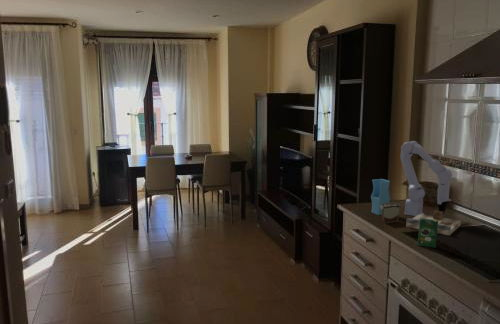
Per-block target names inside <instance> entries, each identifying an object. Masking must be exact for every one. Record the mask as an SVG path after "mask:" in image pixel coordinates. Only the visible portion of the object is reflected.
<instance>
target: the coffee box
mask: <svg viewBox="0 0 500 324" xmlns="http://www.w3.org/2000/svg"><path fill="white" fill-rule="evenodd" d="M437 230H438V220H431V219H423V218H420V225H419V229H418V235H417V236H418V237H417V246H418V247H419V246H420V247H425V248H426V247H427V248H434V249H436V248H437V238H438V237H437V236H438V233H437Z"/></svg>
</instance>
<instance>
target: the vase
mask: <svg viewBox="0 0 500 324" xmlns="http://www.w3.org/2000/svg"><path fill="white" fill-rule="evenodd" d="M371 181H372V186H373V187H372V188H373V189H372V193H371V194H370V199H371V213H373V214H374V215H377V216H382V211H381V208H380V207H381V204H382V203H390V201H391V196H390V193H389V187H390V182H391V181H390V180H387V179H384V178H378V179H372V180H371Z"/></svg>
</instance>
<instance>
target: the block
mask: <svg viewBox="0 0 500 324" xmlns="http://www.w3.org/2000/svg"><path fill="white" fill-rule="evenodd" d="M432 213H433V214H432V216H433V219H438V220H441V219H443V218H444V215H443V211H439V210H438V209H437V210H434V211H433V212H432Z"/></svg>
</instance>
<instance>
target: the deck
mask: <svg viewBox="0 0 500 324" xmlns="http://www.w3.org/2000/svg"><path fill="white" fill-rule="evenodd" d="M420 218H423V219H431V220H438V219H433V215H430V214H425V213H424V214H418V215H417V216H413V217H412V218H406V221H405V223H406V224H405V227H406V228H411V229H416V230H419V225H420ZM461 225H462V220H459V219H458V220H456V219H453V218H447V217H443V219H441V220H438V230H437V234H440V235H444V236H451V235H452V234H453V233H454V232H455V231H456V230H457V229H458V228H460V227H461Z"/></svg>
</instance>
